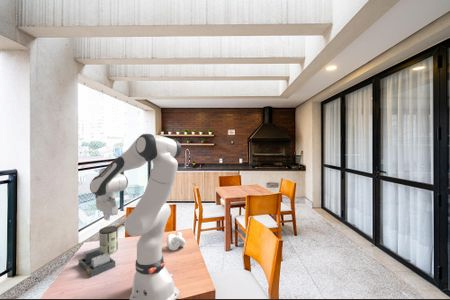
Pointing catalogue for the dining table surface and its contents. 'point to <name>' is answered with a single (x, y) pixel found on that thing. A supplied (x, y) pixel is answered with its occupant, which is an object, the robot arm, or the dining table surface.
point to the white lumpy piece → (175, 241)
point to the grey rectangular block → (100, 260)
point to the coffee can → (109, 239)
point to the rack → (87, 262)
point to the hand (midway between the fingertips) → (106, 219)
